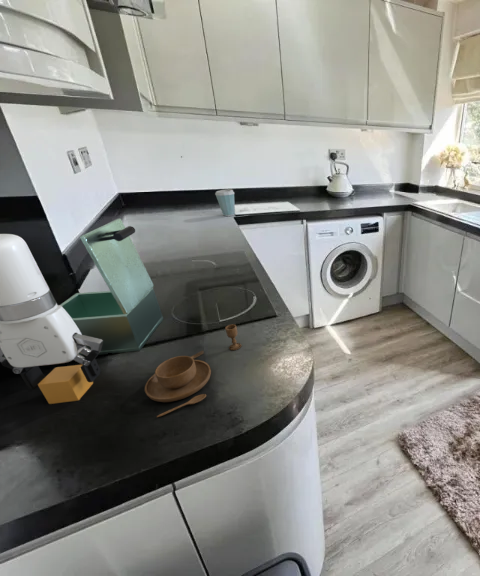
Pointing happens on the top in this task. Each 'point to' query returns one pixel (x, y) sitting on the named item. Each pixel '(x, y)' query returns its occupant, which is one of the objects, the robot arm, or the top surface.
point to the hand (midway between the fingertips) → (66, 380)
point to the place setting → (183, 377)
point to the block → (64, 384)
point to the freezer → (114, 320)
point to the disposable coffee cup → (226, 201)
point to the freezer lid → (118, 263)
